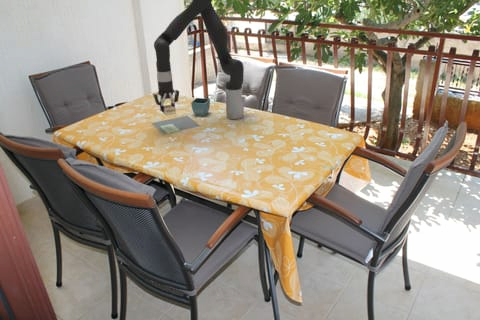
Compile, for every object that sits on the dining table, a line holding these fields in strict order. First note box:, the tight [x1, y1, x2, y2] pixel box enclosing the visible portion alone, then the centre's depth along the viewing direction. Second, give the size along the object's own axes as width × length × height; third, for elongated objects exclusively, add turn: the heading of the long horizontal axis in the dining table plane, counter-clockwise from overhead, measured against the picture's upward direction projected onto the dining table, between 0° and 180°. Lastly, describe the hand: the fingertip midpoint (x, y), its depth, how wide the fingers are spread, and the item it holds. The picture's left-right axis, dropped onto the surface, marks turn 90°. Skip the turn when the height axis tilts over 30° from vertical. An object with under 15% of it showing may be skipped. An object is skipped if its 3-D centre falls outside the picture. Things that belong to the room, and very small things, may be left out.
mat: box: [150, 115, 201, 135], centre depth 224 cm, size 22×19×1 cm
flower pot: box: [190, 97, 211, 117], centre depth 236 cm, size 9×9×9 cm
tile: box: [162, 102, 177, 116], centre depth 214 cm, size 10×5×3 cm, turn 30°
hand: (168, 110), depth 214 cm, fingers closed on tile, 5 cm apart
